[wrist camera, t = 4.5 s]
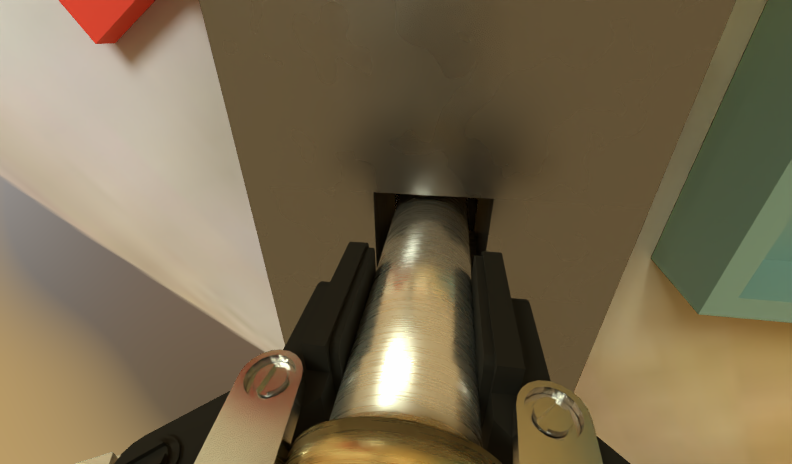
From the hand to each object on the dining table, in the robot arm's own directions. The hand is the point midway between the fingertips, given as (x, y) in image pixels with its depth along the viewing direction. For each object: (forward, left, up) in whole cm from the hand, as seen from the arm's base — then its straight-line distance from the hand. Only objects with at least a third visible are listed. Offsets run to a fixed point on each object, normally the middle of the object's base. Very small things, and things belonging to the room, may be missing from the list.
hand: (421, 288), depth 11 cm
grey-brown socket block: (0, 0, -8) cm, 8 cm away
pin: (0, 0, -7) cm, 7 cm away
